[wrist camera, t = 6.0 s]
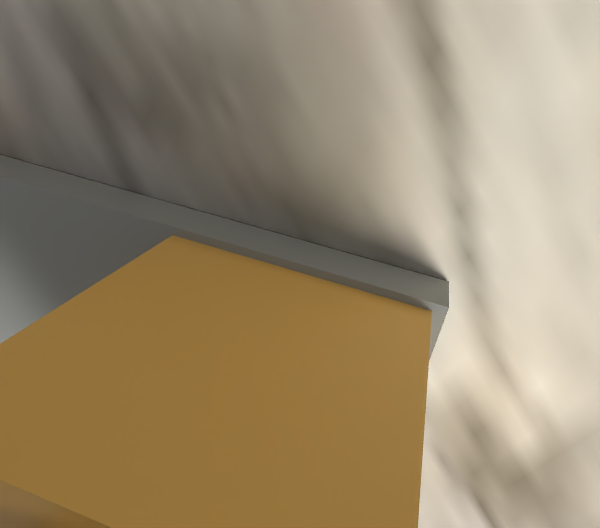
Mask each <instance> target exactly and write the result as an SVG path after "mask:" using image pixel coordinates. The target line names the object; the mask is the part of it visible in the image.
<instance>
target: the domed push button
mask: <svg viewBox="0 0 600 528" xmlns="http://www.w3.org/2000/svg"><path fill="white" fill-rule="evenodd" d="M431 320H432V311H430V310H427V309H423V308H420V307H416V306H413V305H410V304H406V303H403V302H399V301H396V300H392V299H389V298H386V297H382V296H379V295H375V294H372V293H369V292H365V291H362V290H358V289H355V288H352V287H348V286H345V285H341V284H338V283H334V282H331V281H328V280H324V279H321V278H317V277H314V276H311V275H307V274H304V273H300V272H297V271H294V270H290V269H287V268H283V267H280V266H276V265H273V264H270V263H266V262H263V261H259V260H256V259H253V258H249V257H246V256H242V255H239V254H236V253H232V252H229V251H225V250H222V249H218V248H215V247H212V246H208V245H205V244H201V243H198V242H195V241H191V240H188V239H184V238H181V237H178V236H174V235H172V236H171V237H169V238H167V239H166V240H164V241H163V242H161V243H159V244H158V245H156V246H155V247H153V248H152V249H150V250H148V251H147V252H145V253H144V254H142V255H140V256H139V257H137V258H136V259H134V260H132V261H131V262H129V263H128V264H126V265H124V266H123V267H121V268H120V269H118V270H117V271H115V272H113V273H112V274H110V275H109V276H107V277H105V278H104V279H102V280H101V281H99V282H97V283H96V284H94V285H93V286H91V287H89V288H88V289H86V290H85V291H83V292H82V293H80V294H78V295H77V296H75V297H74V298H72V299H70V300H69V301H67V302H66V303H64V304H62V305H61V306H59V307H58V308H56V309H54V310H53V311H51V312H50V313H48V314H47V315H45V316H43V317H42V318H40V319H39V320H37V321H35V322H34V323H32V324H31V325H29V326H27V327H26V328H24V329H23V330H21V331H19V332H18V333H16V334H15V335H13V336H12V337H10V338H8V339H7V340H5V341H4V342H2V343H0V528H418V515H419V500H420V485H421V470H422V455H423V440H424V425H425V410H426V395H427V380H428V365H429V350H430V335H431Z"/></svg>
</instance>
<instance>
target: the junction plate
mask: <svg viewBox="0 0 600 528" xmlns="http://www.w3.org/2000/svg"><path fill="white" fill-rule="evenodd" d="M172 235H174V236H178V237H181V238H184V239H188V240H191V241H195V242H198V243H201V244H205V245H208V246H212V247H215V248H218V249H222V250H225V251H229V252H232V253H236V254H239V255H242V256H246V257H249V258H253V259H256V260H259V261H263V262H266V263H270V264H273V265H276V266H280V267H283V268H287V269H290V270H294V271H297V272H300V273H304V274H307V275H311V276H314V277H317V278H321V279H324V280H328V281H331V282H334V283H338V284H341V285H345V286H348V287H352V288H355V289H358V290H362V291H365V292H369V293H372V294H375V295H379V296H382V297H386V298H389V299H392V300H396V301H399V302H403V303H406V304H410V305H413V306H416V307H420V308H423V309H427V310H430V311H432V320H431V335H430V350H429V360H430V357H431V354H432V351H433V349H434V346H435V343H436V341H437V338H438V335H439V333H440V330H441V327H442V325H443V322H444V319H445V316H446V314H447V311H448V308H449V281H445V280H441V279H438V278H434V277H431V276H427V275H424V274H420V273H417V272H413V271H410V270H406V269H403V268H399V267H396V266H392V265H388V264H385V263H381V262H378V261H374V260H371V259H367V258H364V257H360V256H357V255H353V254H350V253H346V252H342V251H339V250H335V249H332V248H328V247H325V246H321V245H318V244H314V243H311V242H307V241H304V240H300V239H297V238H293V237H289V236H286V235H282V234H279V233H275V232H272V231H268V230H265V229H261V228H258V227H254V226H251V225H247V224H243V223H240V222H236V221H233V220H229V219H226V218H222V217H219V216H215V215H212V214H208V213H205V212H201V211H198V210H194V209H190V208H187V207H183V206H180V205H176V204H173V203H169V202H166V201H162V200H159V199H155V198H152V197H148V196H144V195H141V194H137V193H134V192H130V191H127V190H123V189H120V188H116V187H113V186H109V185H106V184H102V183H99V182H95V181H91V180H88V179H84V178H81V177H77V176H74V175H70V174H67V173H63V172H60V171H56V170H53V169H49V168H46V167H42V166H38V165H35V164H31V163H28V162H24V161H21V160H17V159H14V158H10V157H7V156H3V155H0V343H2V342H4V341H5V340H7V339H8V338H10V337H12V336H13V335H15V334H16V333H18V332H19V331H21V330H23V329H24V328H26V327H27V326H29V325H31V324H32V323H34V322H35V321H37V320H39V319H40V318H42V317H43V316H45V315H47V314H48V313H50V312H51V311H53V310H54V309H56V308H58V307H59V306H61V305H62V304H64V303H66V302H67V301H69V300H70V299H72V298H74V297H75V296H77V295H78V294H80V293H82V292H83V291H85V290H86V289H88V288H89V287H91V286H93V285H94V284H96V283H97V282H99V281H101V280H102V279H104V278H105V277H107V276H109V275H110V274H112V273H113V272H115V271H117V270H118V269H120V268H121V267H123V266H124V265H126V264H128V263H129V262H131V261H132V260H134V259H136V258H137V257H139V256H140V255H142V254H144V253H145V252H147V251H148V250H150V249H152V248H153V247H155V246H156V245H158V244H159V243H161V242H163V241H164V240H166V239H167V238H169V237H171V236H172Z"/></svg>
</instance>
